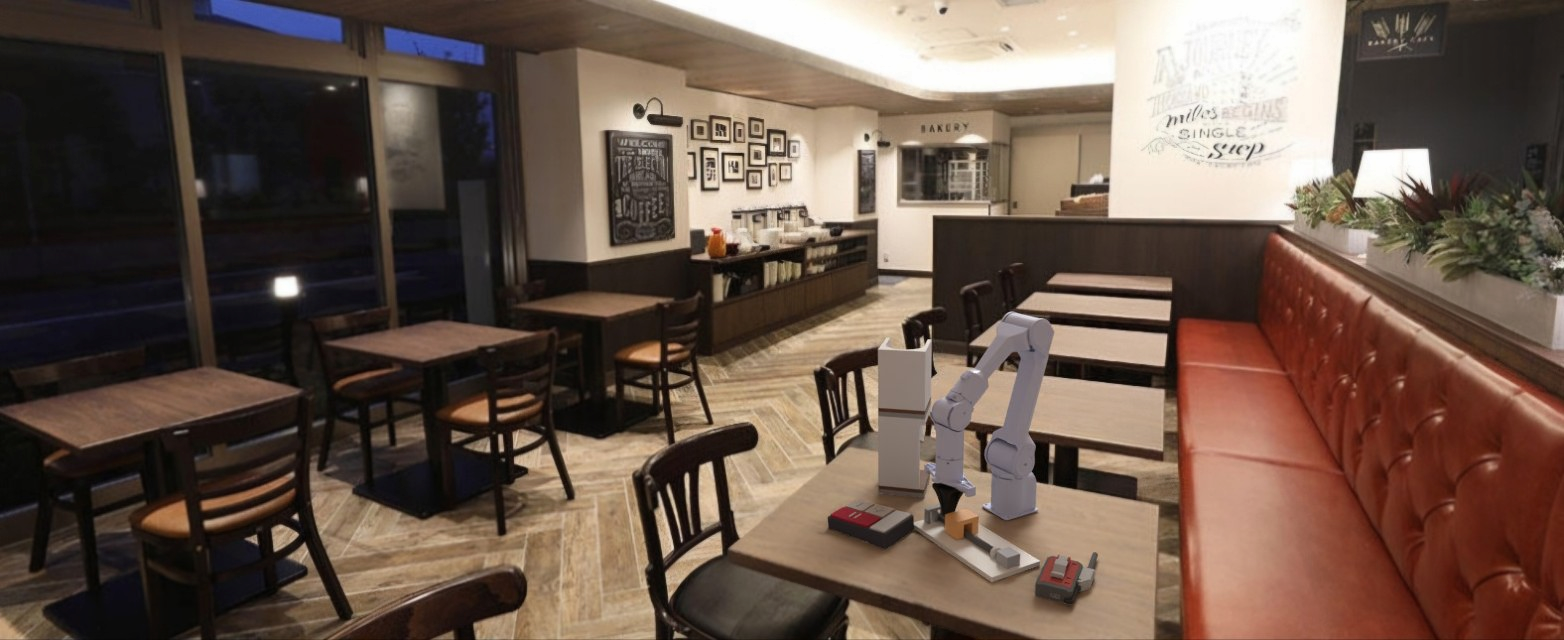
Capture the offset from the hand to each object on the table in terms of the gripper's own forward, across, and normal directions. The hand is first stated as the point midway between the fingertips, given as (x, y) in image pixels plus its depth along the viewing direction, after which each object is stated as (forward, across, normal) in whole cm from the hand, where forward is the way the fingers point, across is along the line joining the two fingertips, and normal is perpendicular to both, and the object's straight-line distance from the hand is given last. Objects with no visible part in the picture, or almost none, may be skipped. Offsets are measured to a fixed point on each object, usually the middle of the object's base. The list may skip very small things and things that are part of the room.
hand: (948, 515), depth 167 cm
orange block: (+2, +4, 0) cm, 5 cm away
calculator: (+4, -8, -14) cm, 17 cm away
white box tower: (+3, -23, +5) cm, 23 cm away
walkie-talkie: (+4, +26, +7) cm, 27 cm away
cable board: (+3, +8, 0) cm, 8 cm away
